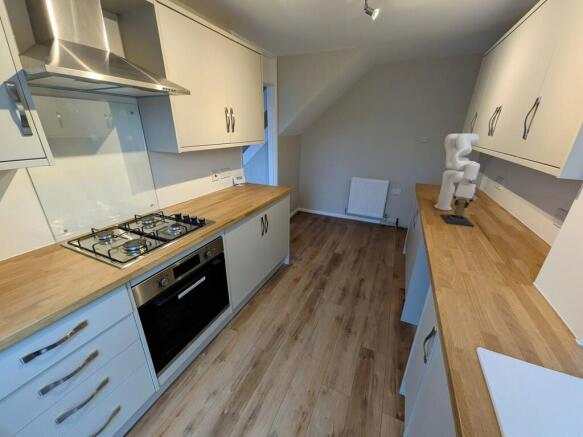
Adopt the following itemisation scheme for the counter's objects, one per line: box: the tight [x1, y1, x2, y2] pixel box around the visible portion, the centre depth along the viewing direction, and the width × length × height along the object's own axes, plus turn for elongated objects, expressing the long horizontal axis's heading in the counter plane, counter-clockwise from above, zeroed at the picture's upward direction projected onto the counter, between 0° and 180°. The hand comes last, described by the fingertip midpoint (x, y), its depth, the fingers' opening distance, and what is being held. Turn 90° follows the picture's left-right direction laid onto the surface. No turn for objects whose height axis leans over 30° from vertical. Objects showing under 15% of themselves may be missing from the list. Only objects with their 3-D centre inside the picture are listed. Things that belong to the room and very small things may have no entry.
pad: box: [440, 213, 474, 228], centre depth 171 cm, size 16×16×3 cm
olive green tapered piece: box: [453, 198, 467, 216], centre depth 167 cm, size 6×6×11 cm
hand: (460, 206), depth 167 cm, fingers closed on olive green tapered piece, 5 cm apart
